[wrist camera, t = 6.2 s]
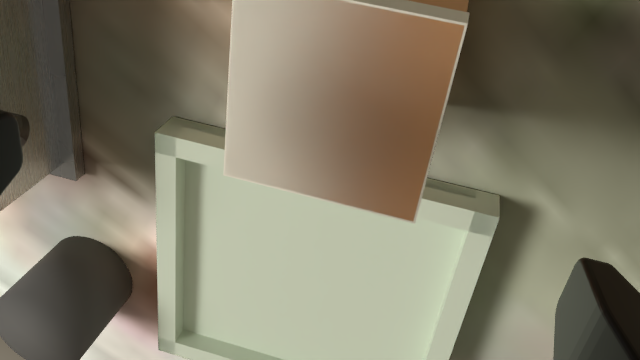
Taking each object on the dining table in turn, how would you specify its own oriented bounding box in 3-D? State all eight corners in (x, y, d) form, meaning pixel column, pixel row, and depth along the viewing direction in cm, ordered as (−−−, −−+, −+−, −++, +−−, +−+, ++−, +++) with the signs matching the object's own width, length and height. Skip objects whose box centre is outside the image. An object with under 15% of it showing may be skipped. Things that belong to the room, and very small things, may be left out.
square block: (478, -43, 17) (468, 23, 11) (439, 105, 19) (415, 223, 13) (321, -72, 18) (233, -24, 12) (303, 74, 20) (223, 175, 14)
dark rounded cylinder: (131, 249, 26) (77, 310, 23) (134, 315, 28) (85, 380, 25) (48, 226, 27) (-16, 283, 23) (58, 293, 29) (0, 353, 25)
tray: (499, 195, 20) (499, 217, 19) (426, 403, 26) (423, 430, 25) (173, 116, 22) (154, 132, 21) (172, 328, 28) (158, 349, 27)
